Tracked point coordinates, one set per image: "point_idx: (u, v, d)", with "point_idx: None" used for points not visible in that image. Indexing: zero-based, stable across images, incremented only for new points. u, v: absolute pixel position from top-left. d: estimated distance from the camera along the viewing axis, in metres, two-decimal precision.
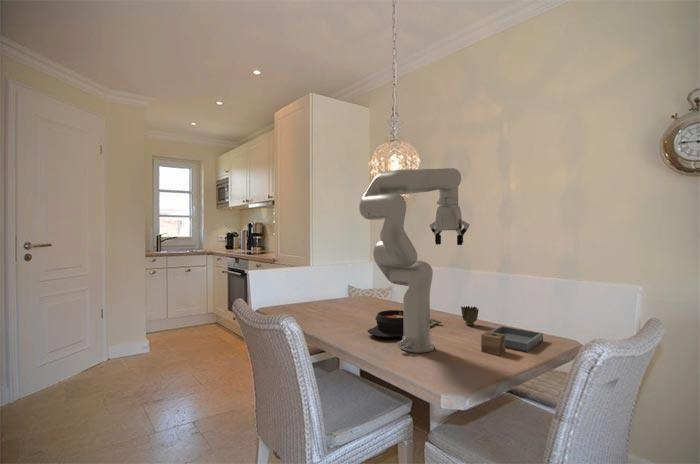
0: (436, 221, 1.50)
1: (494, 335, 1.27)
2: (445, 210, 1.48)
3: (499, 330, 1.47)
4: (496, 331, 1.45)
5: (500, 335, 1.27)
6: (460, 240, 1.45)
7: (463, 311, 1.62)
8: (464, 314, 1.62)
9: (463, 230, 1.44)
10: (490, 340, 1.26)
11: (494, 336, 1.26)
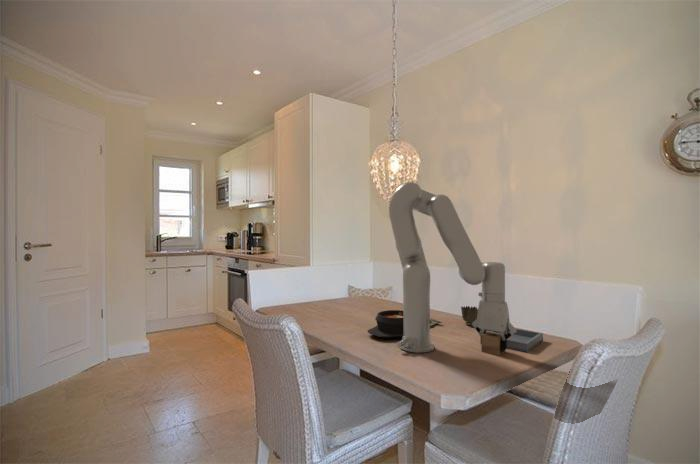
0: (478, 318, 1.29)
1: (494, 335, 1.27)
2: (489, 307, 1.26)
3: None
4: None
5: (500, 335, 1.27)
6: (504, 346, 1.25)
7: (463, 311, 1.62)
8: (464, 314, 1.62)
9: (508, 335, 1.24)
10: (490, 340, 1.26)
11: (494, 335, 1.26)
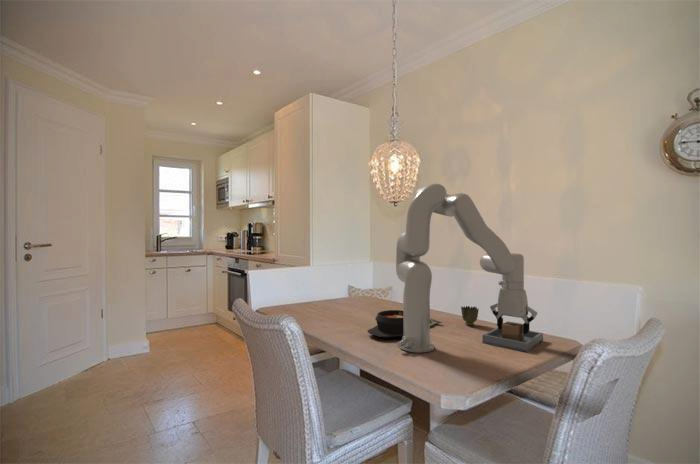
0: (499, 305, 1.40)
1: (514, 324, 1.38)
2: (509, 295, 1.37)
3: (499, 330, 1.47)
4: (496, 331, 1.45)
5: (519, 324, 1.38)
6: (527, 329, 1.35)
7: (463, 311, 1.62)
8: (464, 314, 1.62)
9: (530, 319, 1.34)
10: (510, 329, 1.37)
11: (514, 325, 1.37)
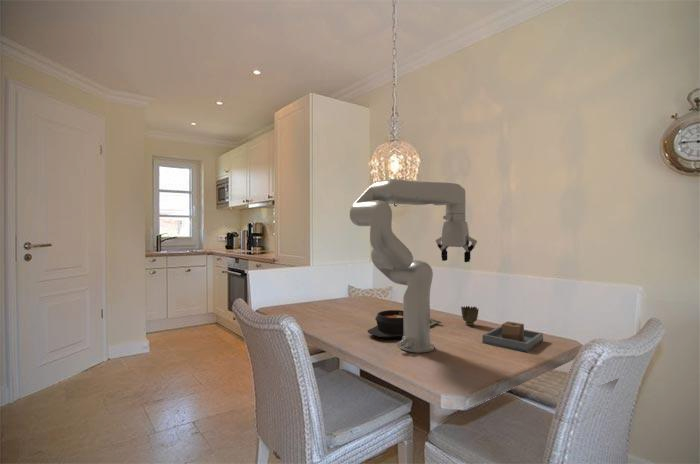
0: (442, 237, 1.46)
1: (514, 324, 1.38)
2: (451, 226, 1.43)
3: (499, 330, 1.47)
4: (496, 331, 1.45)
5: (519, 324, 1.38)
6: (467, 257, 1.41)
7: (463, 311, 1.62)
8: (464, 314, 1.62)
9: (470, 247, 1.40)
10: (510, 329, 1.37)
11: (514, 325, 1.37)
